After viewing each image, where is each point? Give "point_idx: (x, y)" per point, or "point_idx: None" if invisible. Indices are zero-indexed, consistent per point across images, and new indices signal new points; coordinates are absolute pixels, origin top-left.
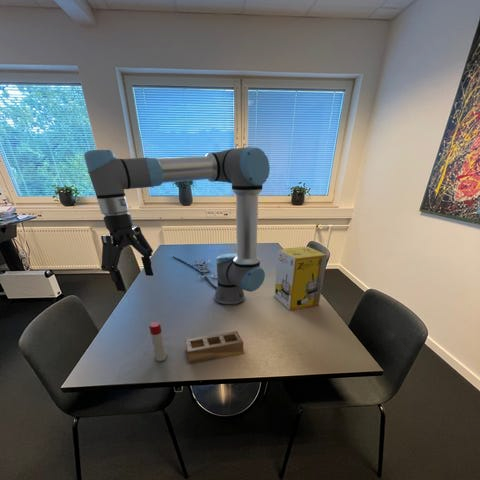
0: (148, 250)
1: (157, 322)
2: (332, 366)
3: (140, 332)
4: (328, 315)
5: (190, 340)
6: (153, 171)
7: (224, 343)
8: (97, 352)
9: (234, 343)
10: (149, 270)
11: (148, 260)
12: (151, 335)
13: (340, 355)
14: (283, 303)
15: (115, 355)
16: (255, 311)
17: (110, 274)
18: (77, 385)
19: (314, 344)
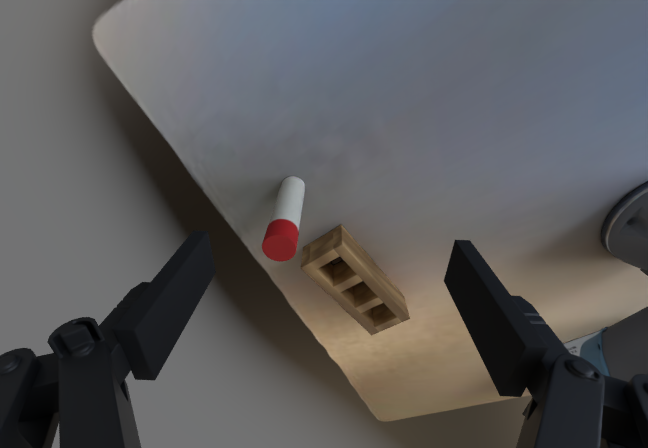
0: (617, 437)
1: (292, 249)
2: (373, 396)
3: (387, 38)
4: (528, 391)
5: (342, 256)
6: None
7: (355, 312)
8: None
9: (361, 325)
10: (458, 298)
11: (490, 370)
12: (270, 221)
13: (401, 401)
14: (591, 337)
15: (245, 55)
16: (552, 295)
17: (102, 325)
18: (104, 55)
19: (423, 381)
